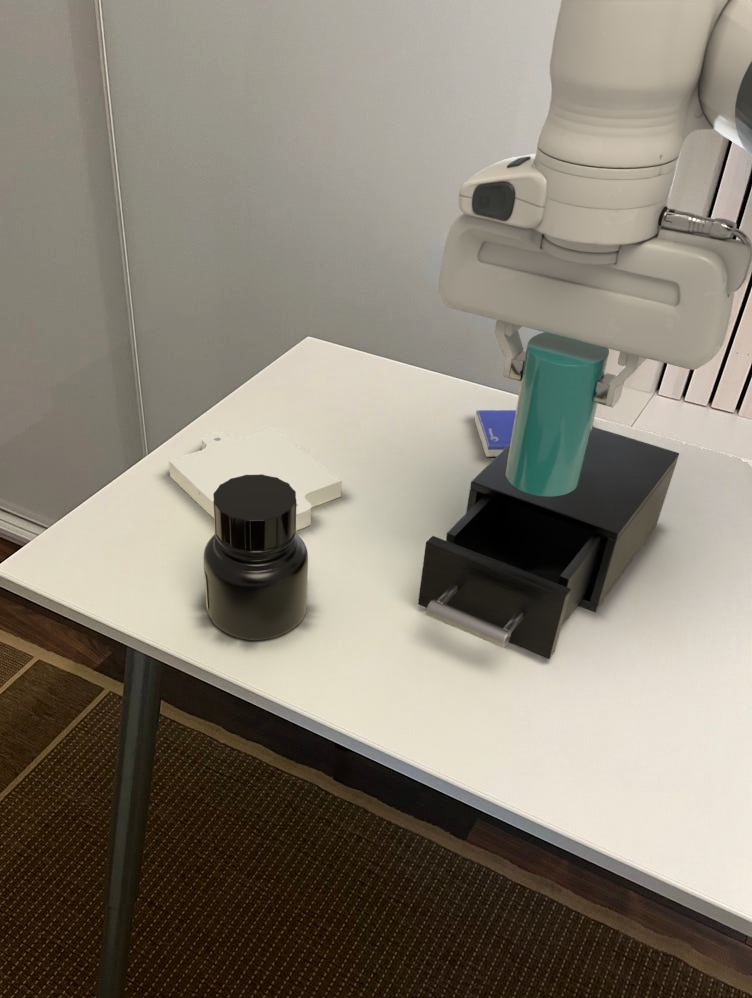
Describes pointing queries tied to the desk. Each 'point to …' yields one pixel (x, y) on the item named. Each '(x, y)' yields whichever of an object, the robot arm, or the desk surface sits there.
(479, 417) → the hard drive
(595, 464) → the cabinet
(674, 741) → the desk surface
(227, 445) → the mounting plate
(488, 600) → the drawer
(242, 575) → the ink bottle
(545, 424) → the teal cylinder
